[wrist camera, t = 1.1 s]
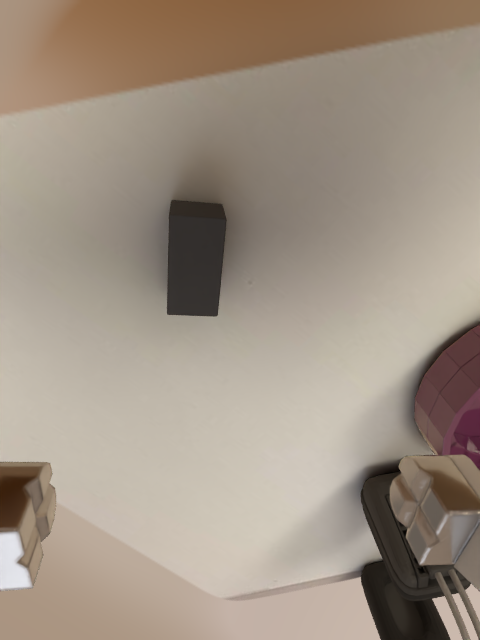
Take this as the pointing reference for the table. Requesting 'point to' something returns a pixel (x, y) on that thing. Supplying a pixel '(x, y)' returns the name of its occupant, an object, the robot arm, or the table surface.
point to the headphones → (406, 577)
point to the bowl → (452, 400)
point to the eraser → (195, 258)
